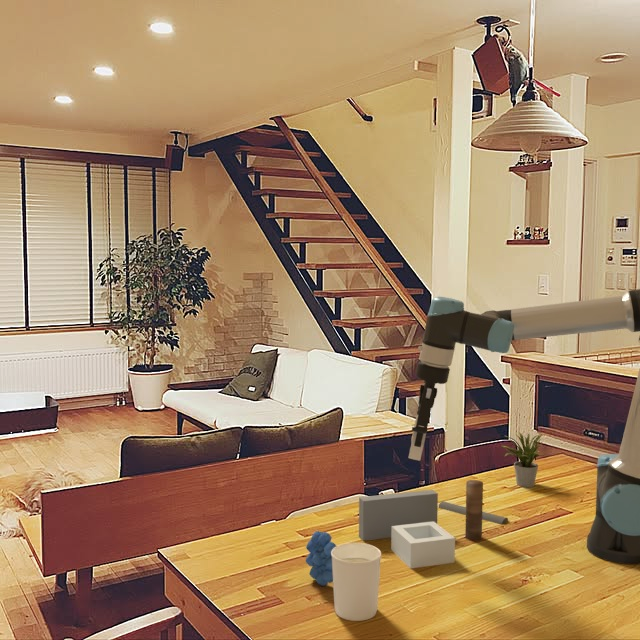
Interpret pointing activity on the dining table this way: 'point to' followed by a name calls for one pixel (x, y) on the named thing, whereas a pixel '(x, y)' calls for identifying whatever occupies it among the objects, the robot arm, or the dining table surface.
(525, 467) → the house plant
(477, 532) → the dowel
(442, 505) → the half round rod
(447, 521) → the dining table surface
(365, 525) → the wall
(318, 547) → the grapes
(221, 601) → the dining table surface
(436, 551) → the white square open box
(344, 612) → the candle holder
